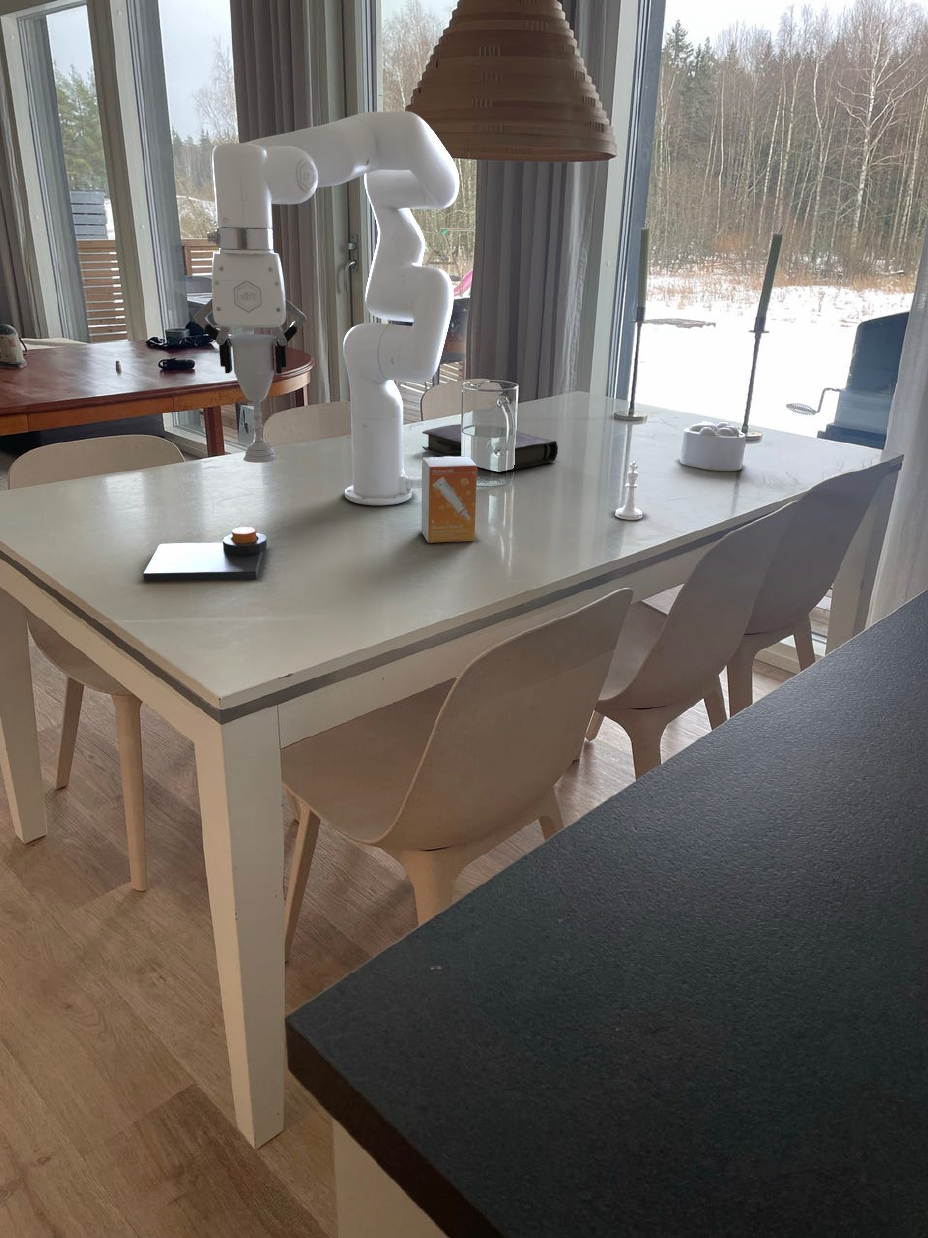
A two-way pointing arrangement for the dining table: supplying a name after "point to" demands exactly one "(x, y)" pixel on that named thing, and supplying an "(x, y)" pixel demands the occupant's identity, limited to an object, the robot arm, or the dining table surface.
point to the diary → (526, 447)
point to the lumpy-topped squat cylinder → (713, 447)
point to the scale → (206, 561)
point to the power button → (244, 535)
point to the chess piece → (630, 498)
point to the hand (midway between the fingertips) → (254, 371)
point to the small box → (449, 499)
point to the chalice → (255, 384)
